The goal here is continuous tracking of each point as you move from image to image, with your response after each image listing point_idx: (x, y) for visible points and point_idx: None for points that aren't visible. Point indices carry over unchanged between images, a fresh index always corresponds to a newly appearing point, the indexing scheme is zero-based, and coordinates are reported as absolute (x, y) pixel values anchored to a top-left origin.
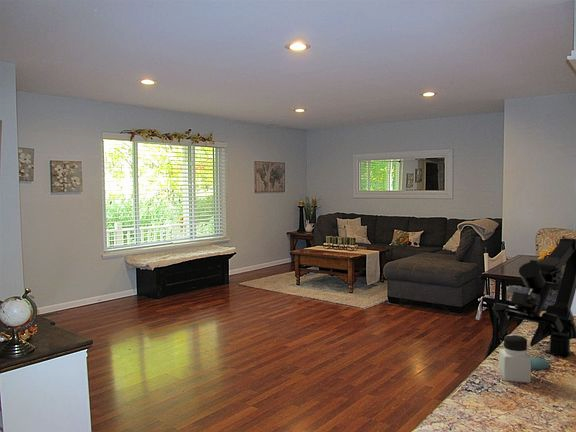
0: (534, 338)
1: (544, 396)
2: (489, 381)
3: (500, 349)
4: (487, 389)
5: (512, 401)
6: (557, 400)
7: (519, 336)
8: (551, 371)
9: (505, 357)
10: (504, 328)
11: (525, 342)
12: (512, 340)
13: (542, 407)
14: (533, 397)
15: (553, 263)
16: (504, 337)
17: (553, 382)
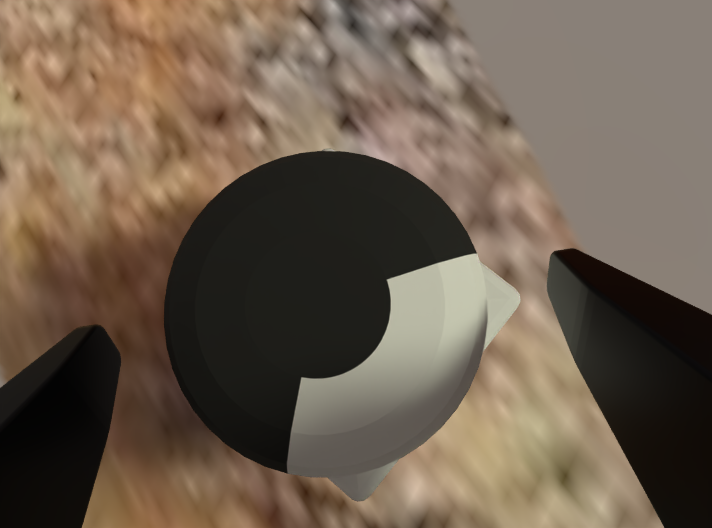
0: (3, 397)
1: (85, 229)
2: (388, 124)
3: (494, 278)
4: (314, 26)
5: (145, 26)
6: (17, 246)
7: (285, 366)
8: None
9: (324, 150)
10: (653, 410)
11: (166, 322)
12: (268, 167)
13: (20, 101)
14: (112, 163)
15: None
16: (437, 201)
17: (168, 476)
